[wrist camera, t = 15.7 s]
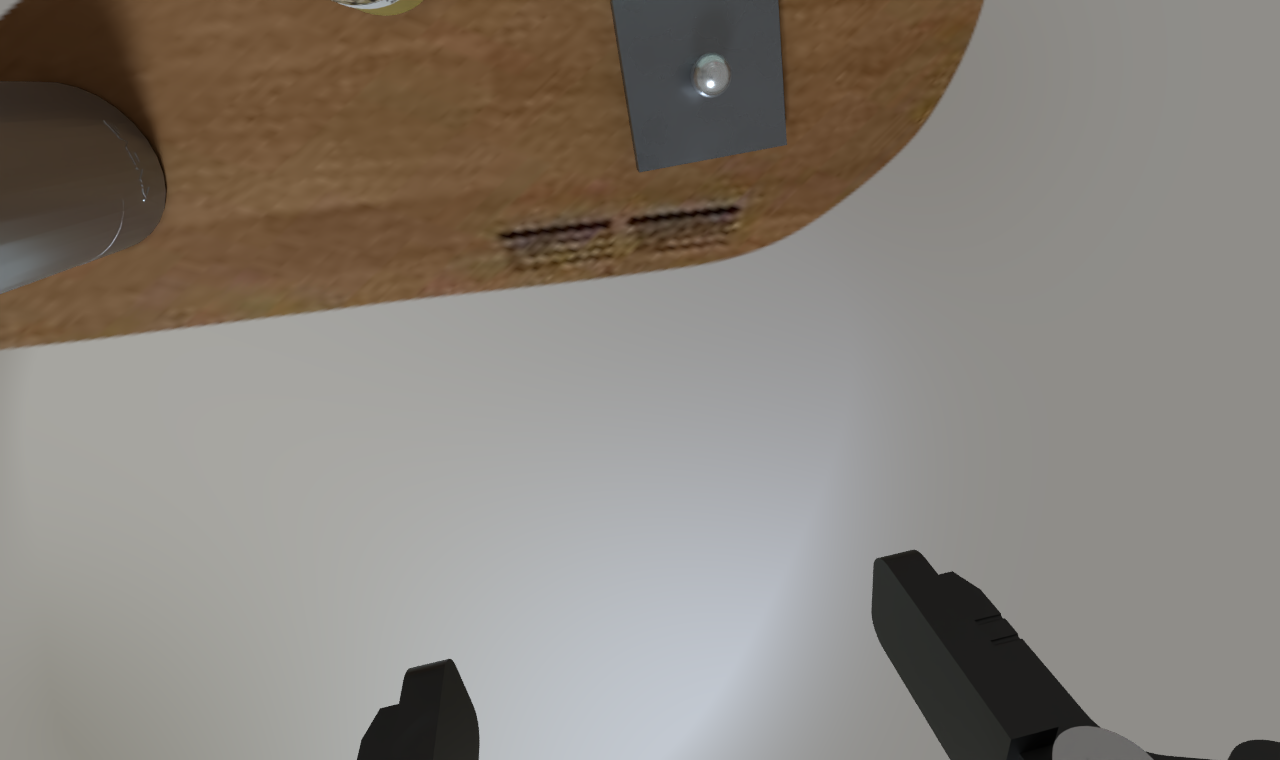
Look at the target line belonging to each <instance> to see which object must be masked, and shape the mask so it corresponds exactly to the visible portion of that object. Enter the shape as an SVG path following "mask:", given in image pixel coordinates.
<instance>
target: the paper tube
mask: <svg viewBox="0 0 1280 760" xmlns="http://www.w3.org/2000/svg"><path fill="white" fill-rule="evenodd" d="M332 1H334V2H337V3H340V4H343V5H345V6H349V7H353V8H355V9H358V10H361V11H364V12H366V13H370V14H374V15H386V16H388V15H396V14H401V13H404V12H406V11H409V10H411V9H413V8H414V7H416V6H417V5H419V4H420V3H421V2H422V1H423V0H332Z"/></svg>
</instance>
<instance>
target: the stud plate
mask: <svg viewBox="0 0 1280 760" xmlns="http://www.w3.org/2000/svg"><path fill="white" fill-rule="evenodd" d="M610 4H611V10H612V16H613V22H614V29H615V35H616V41H617V47H618V54H619V60H620V66H621V72H622V79H623V85H624V91H625V98H626V104H627V110H628V116H629V123H630V129H631V135H632V141H633V148H634V154H635V160H636V166H637V170H638V171H639V172H643V171H649V170H654V169H660V168H665V167H670V166H676V165H681V164H686V163H692V162H697V161H702V160H708V159H713V158H718V157H724V156H729V155H735V154H740V153H745V152H751V151H756V150H761V149H767V148H772V147H777V146H783V145H787V141H786V124H785V107H784V90H783V73H782V57H781V40H780V23H779V6H778V0H611V2H610Z"/></svg>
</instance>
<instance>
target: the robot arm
mask: <svg viewBox="0 0 1280 760" xmlns="http://www.w3.org/2000/svg"><path fill="white" fill-rule="evenodd" d="M165 197H166V188H165V182H164V175H163V172H162V169H161V166H160V164H159V161H158V158H157V156H156V154H155V152H154V151H153V149H152V147H151V146H150V144H149V142H148V140H147V139H146V138H145V136H144V135H143V134H142V133H141V132H140V130H139V129H138V128H137V127H136V126H135V124H134V123H133V122H132V121H131V120H129V119H128V118H127V117H126V116H125V115H124V114H123V113H121V112H120V111H119V110H118V109H117V108H116V107H114V106H112V105H111V104H109V103H108V102H106V101H105V100H103V99H101V98H100V97H98V96H96V95H94V94H92V93H89V92H87V91H85V90H82V89H80V88H78V87H74V86H69V85H65V84H61V83H56V82H14V81H0V294H2V293H5V292H8V291H10V290H13V289H16V288H18V287H21V286H24V285H27V284H29V283H32V282H35V281H38V280H40V279H43V278H46V277H49V276H51V275H54V274H57V273H60V272H62V271H65V270H68V269H71V268H73V267H76V266H79V265H82V264H85V263H88V262H91V261H93V260H96V259H99V258H102V257H104V256H107V255H110V254H112V253H115V252H118V251H121V250H123V249H126V248H128V247H131V246H133V245H135V244H138V243H140V242H141V241H142V240H143V239H145V238H146V237H147V236H149V235H150V234H151V233H152V231H153V230H154V229H155V227H156V226H157V225H158V223H159V222H160V219H161V216H162V213H163V211H164V208H165ZM872 620H873V624H874V628H875V631H876V634H877V637H878V639H879V641H880V643H881V645H882V647H883V649H884V651H885V652H886V654H887V656H888V657H889V659H890V660H891V662H892V664H893V665H894V667H895V669H896V670H897V672H898V674H899V675H900V677H901V679H902V680H903V682H904V684H905V685H906V687H907V688H908V690H909V692H910V694H911V695H912V697H913V699H914V700H915V702H916V704H917V705H918V707H919V709H920V710H921V712H922V713H923V715H924V717H925V718H926V720H927V722H928V723H929V725H930V727H931V728H932V730H933V732H934V733H935V735H936V737H937V738H938V740H939V742H940V743H941V745H942V747H943V748H944V750H945V752H946V753H947V755H948V757H949V758H950V760H1209V759H1197V758H1186V757H1174V756H1164V755H1158V754H1153V753H1149V752H1145V751H1144V750H1142V749H1141V748H1140V747H1139V746H1137V745H1136V744H1135V743H1133V742H1131V741H1130V740H1128V739H1127V738H1125V737H1123V736H1121V735H1119V734H1117V733H1114V732H1111V731H1109V730H1106V729H1102V728H1100V727H1099V726H1098V725H1097V724H1096V723H1095V722H1093V721H1092V720H1091V719H1090V718H1089V717H1088V715H1087V714H1086V713H1085V712H1084V711H1083V710H1082V709H1081V707H1080V706H1079V705H1078V704H1077V703H1076V702H1075V700H1074V699H1073V698H1072V697H1071V696H1070V694H1068V692H1067V691H1066V690H1065V689H1064V687H1062V685H1061V684H1060V683H1059V682H1058V680H1057V679H1056V678H1055V677H1054V676H1053V675H1052V673H1051V672H1050V671H1049V670H1048V669H1047V667H1046V666H1045V665H1044V664H1043V663H1042V662H1041V660H1040V659H1039V658H1038V657H1037V656H1036V654H1035V653H1034V652H1033V651H1032V650H1031V649H1030V647H1029V646H1028V645H1027V644H1026V643H1025V641H1024V640H1023V639H1020V638H1019V637H1018V633H1017V632H1016V631H1015V630H1014V629H1013V627H1012V626H1011V625H1010V624H1009V623H1008V621H1007V620H1006V619H1003V618H1002V617H1001V613H1000V612H999V611H998V610H997V609H996V607H995V606H994V605H993V604H992V603H991V601H990V600H989V599H988V598H987V597H986V596H985V594H984V593H983V592H982V591H981V590H980V589H979V588H977V587H976V586H974V585H972V584H971V583H969V582H968V581H966V580H965V579H963V578H961V577H960V576H959V575H957V574H956V573H954V572H953V571H952V572H948V573H944V574H940V575H938V574H937V573H936V571H935V570H934V569H933V568H932V566H931V565H930V564H929V563H928V561H927V560H926V559H925V557H923V555H922V554H921V553H920V552H918V551H917V550H910V551H906V552H902V553H898V554H893V555H890V556H885V557H881V558H877V559H876V560H875V562H874V570H873V592H872ZM357 760H479V727H478V721H477V716H476V712H475V710H474V706H473V704H472V702H471V699H470V697H469V695H468V693H467V690H466V688H465V686H464V684H463V681H462V679H461V677H460V674H459V672H458V670H457V668H456V665H455V664H454V662H453V660H451V659H447V660H443V661H438V662H435V663H430V664H426V665H422V666H417V667H413V668H410V669H408V670H407V672H406V674H405V677H404V680H403V686H402V691H401V696H400V701H399V704H397V705H393V706H388V707H385V708H380V710H379V712H378V714H377V715H376V716H375V718H374V720H373V722H372V723H371V725H370V727H369V728H368V730H367V732H366V734H365V735H364V737H363V738H362V740H361V745H360V749H359V753H358V758H357ZM1228 760H1280V742H1275V741H1269V740H1250V741H1247V742H1243V743H1241V744H1239V745H1238V746H1236V747H1235V748H1234V750H1233V751H1232V752H1231V754H1230V756H1229V758H1228Z"/></svg>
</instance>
